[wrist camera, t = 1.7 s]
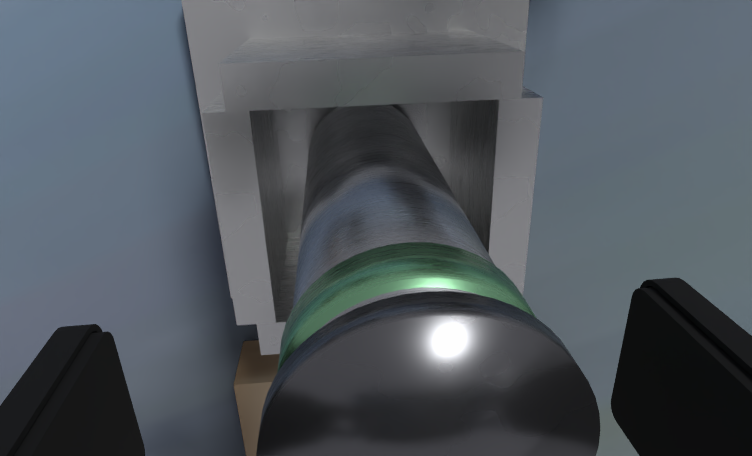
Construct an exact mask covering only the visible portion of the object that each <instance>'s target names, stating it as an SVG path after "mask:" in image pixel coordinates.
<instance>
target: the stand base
mask: <svg viewBox="0 0 752 456" xmlns="http://www.w3.org/2000/svg"><path fill="white" fill-rule="evenodd" d="M182 6H183V12H184V18H185V24H186V30H187V36H188V42H189V48H190V54H191V60H192V66H193V72H194V78H195V84H196V90H197V96H198V102H199V108H200V114H201V120H202V126H203V133H204V139H205V145H206V151H207V157H208V163H209V169H210V175H211V181H212V187H213V193H214V199H215V205H216V211H217V217H218V223H219V229H220V235H221V241H222V247H223V253H224V259H225V265H226V271H227V277H228V283H229V289H230V295H231V298H232V299H233V305H234V311H235V317H236V323H237V325H250V324H257V331H258V338H259V344H260V351H261V355H270V354H280V347H281V339H282V335H283V331H284V328H285V324H286V322H287V320H288V318H289V315H290V313H291V311H292V309H293V302H294V292H295V282H296V272H297V263H298V253H299V243H300V233H301V223H302V213H303V203H304V194H305V184H306V174H307V164H308V154H309V146H310V142H311V138H312V136H313V133H314V131H315V129H316V128H317V126H318V124H319V123H320V122H321V121H322V119H323V118H324V117H325V116H326V115H327V114H329V113H330V112H331V111H333V110H334V109H336V108H337V107H345V106H367V105H391V106H393V107H395V108H396V109H398V110H399V111H401V112H402V113H403V114H404V115H405V116H406V117H407V118H408V119H409V120H410V121H411V123H412V124H413V126H414V127H415V129H416V131H417V132H418V134H419V136H420V137H421V139H422V141H423V143H424V144H425V146H426V148H427V149H428V151H429V153H430V155H431V156H432V158H433V160H434V161H435V163H436V165H437V167H438V168H439V170H440V172H441V173H442V175H443V177H444V179H445V180H446V182H447V184H448V185H449V187H450V189H451V191H452V192H453V194H454V196H455V198H456V199H457V201H458V203H459V204H460V206H461V208H462V210H463V211H464V213H465V215H466V216H467V218H468V220H469V222H470V223H471V225H472V227H473V228H474V230H475V232H476V234H477V235H478V237H479V239H480V240H481V242H482V244H483V246H484V247H485V249H486V251H487V252H488V254H489V256H490V258H491V259H492V261H493V263H494V264H495V266H496V267H497V268H499V269H500V270H501V271H503V272H504V273H505V274H506V275H507V276H508V277H509V278H510V279H511V280H512V281H513V283H514V284H515V285H516V287H517V288H518V290H519V291H520V293H521V294H522V296H523V289H524V279H525V269H526V260H527V250H528V240H529V230H530V221H531V211H532V201H533V191H534V182H535V172H536V162H537V153H538V143H539V133H540V123H541V114H542V104H543V97H541V96H540V95H538V94H536V93H534V92H533V91H531V90H529V89H527V88H525V87H524V86H522V84H523V72H524V61H525V46H526V35H527V23H528V11H529V0H182Z"/></svg>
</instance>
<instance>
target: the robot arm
mask: <svg viewBox="0 0 752 456" xmlns="http://www.w3.org/2000/svg"><path fill="white" fill-rule="evenodd" d="M611 409H612V413H613V416H614V418H615V420H616V422H617V423H618V425H619V426H620V428H621V429H622V431H623V432H624V434H625V435H626V436H627V438H628V439H629V441H630V442H631V444H632V445H633V447H634V448H635V450H636V451H637V453H638V454H639V456H752V336H751V335H750V334H748V333H747V332H746V331H745V330H744V329H742V328H741V327H740V326H739V325H737V324H736V323H735V322H734V321H733V320H731V319H730V318H729V317H728V316H726V315H725V314H724V313H723V312H722V311H720V310H719V309H718V308H717V307H715V306H714V305H713V304H712V303H711V302H709V301H708V300H707V299H706V298H704V297H703V296H702V295H701V294H700V293H698V292H697V291H696V290H695V289H693V288H692V287H691V286H690V285H689V284H687V283H686V282H685V281H683V280H682V279H680V278H665V279H653V280H646V281H644V282H643V283H642V285H641V287H640V288H638V289H636V290H635V291H634V292H633V295H632V299H631V304H630V309H629V314H628V319H627V324H626V329H625V334H624V339H623V343H622V348H621V353H620V358H619V363H618V368H617V373H616V378H615V383H614V388H613V393H612V398H611ZM0 456H145V449H144V444H143V440H142V437H141V433H140V430H139V426H138V423H137V419H136V416H135V412H134V409H133V405H132V402H131V398H130V395H129V391H128V388H127V384H126V380H125V377H124V373H123V370H122V366H121V363H120V359H119V356H118V352H117V349H116V345H115V342H114V338H113V336H112V334H111V333H110V332H102V330H101V328H100V327H99V326H98V325H96V324H91V325H79V326H66V327H60V328H58V329H57V330H56V331H55V332H54V333H53V335H52V336H51V338H50V339H49V340H48V342H47V343H46V344H45V346H44V347H43V348H42V350H41V351H40V352H39V354H38V355H37V357H36V358H35V359H34V361H33V362H32V363H31V365H30V366H29V367H28V369H27V370H26V372H25V373H24V374H23V376H22V377H21V378H20V380H19V381H18V382H17V384H16V385H15V387H14V388H13V389H12V391H11V392H10V393H9V395H8V396H7V397H6V399H5V400H4V401H3V403H2V404H1V406H0Z"/></svg>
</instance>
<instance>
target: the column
mask: <svg viewBox="0 0 752 456" xmlns="http://www.w3.org/2000/svg"><path fill="white" fill-rule="evenodd" d="M599 436H600V417H599V410H598V406H597V402H596V398H595V395H594V393H593V391H592V389H591V387H590V384H589V382H588V380H587V379H586V377H585V376H584V374H583V373H582V371H581V370H580V368H579V367H578V365H577V363H576V362H575V360H574V359H573V357H572V356H571V354H570V353H569V351H568V350H567V348H566V347H565V345H564V344H563V343H562V341H561V340H560V339H559V338H558V337H557V336H556V335H555V334H554V333H553V332H552V331H551V330H550V329H549V327H547V326H546V325H545V324H543V323H542V322H541V321H539V320H538V319H537V318H536V317H535V315H534V313H533V312H532V310H531V309H530V307H529V305H528V304H527V302H526V300H525V299H524V297H523V296H522V294H521V293H520V291H519V290H518V288H517V287H516V285H515V284H514V283H513V281H512V280H511V279H510V278H509V277H508V276H507V275H506V274H505V273H504V272H503V271H501V270H500V269H499V268H497V267H496V266H495V264H494V263H493V261H492V259H491V258H490V256H489V254H488V252H487V251H486V249H485V247H484V246H483V244H482V242H481V240H480V239H479V237H478V235H477V234H476V232H475V230H474V228H473V227H472V225H471V223H470V222H469V220H468V218H467V216H466V215H465V213H464V211H463V210H462V208H461V206H460V204H459V203H458V201H457V199H456V198H455V196H454V194H453V192H452V191H451V189H450V187H449V185H448V184H447V182H446V180H445V179H444V177H443V175H442V173H441V172H440V170H439V168H438V167H437V165H436V163H435V161H434V160H433V158H432V156H431V155H430V153H429V151H428V149H427V148H426V146H425V144H424V143H423V141H422V139H421V137H420V136H419V134H418V132H417V131H416V129H415V127H414V126H413V124H412V123H411V121H410V120H409V119H408V118H407V117H406V116H405V115H404V114H403V113H402V112H401V111H399V110H398V109H396V108H395V107H393V106H391V105H367V106H345V107H337V108H336V109H334V110H333V111H331V112H330V113H329V114H327V115H326V116H325V117H324V118H323V119H322V121H321V122H320V123H319V124H318V126H317V128H316V129H315V131H314V133H313V136H312V138H311V142H310V146H309V154H308V164H307V174H306V184H305V194H304V203H303V213H302V223H301V233H300V243H299V253H298V263H297V272H296V282H295V292H294V302H293V309H292V311H291V313H290V315H289V318H288V320H287V322H286V324H285V328H284V331H283V335H282V339H281V347H280V355H279V363H278V371H277V374H276V376H275V378H274V380H273V382H272V384H271V386H270V388H269V390H268V393H267V396H266V399H265V403H264V406H263V410H262V416H261V422H260V429H259V436H258V443H257V452H256V456H596V453H597V449H598V445H599Z"/></svg>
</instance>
